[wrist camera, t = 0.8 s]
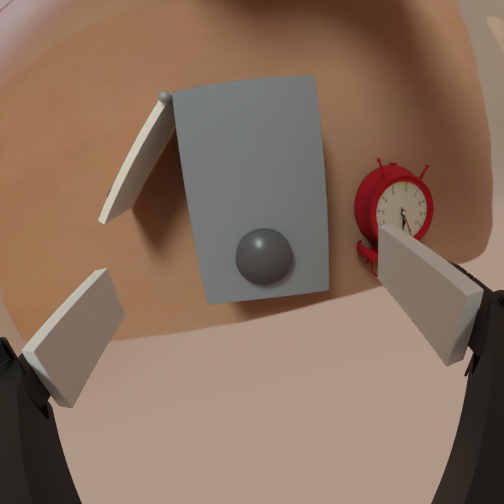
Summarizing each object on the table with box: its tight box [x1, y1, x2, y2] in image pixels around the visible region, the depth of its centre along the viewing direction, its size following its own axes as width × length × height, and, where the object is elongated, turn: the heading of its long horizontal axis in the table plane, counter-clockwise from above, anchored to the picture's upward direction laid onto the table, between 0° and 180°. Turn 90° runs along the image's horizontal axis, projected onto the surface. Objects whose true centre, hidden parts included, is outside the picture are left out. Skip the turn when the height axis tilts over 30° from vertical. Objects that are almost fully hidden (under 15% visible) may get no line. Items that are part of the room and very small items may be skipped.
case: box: [172, 76, 329, 304], centre depth 28 cm, size 20×12×10 cm, turn 7°
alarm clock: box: [355, 158, 433, 277], centre depth 32 cm, size 10×6×15 cm
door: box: [98, 91, 176, 224], centre depth 27 cm, size 14×2×8 cm, turn 147°
